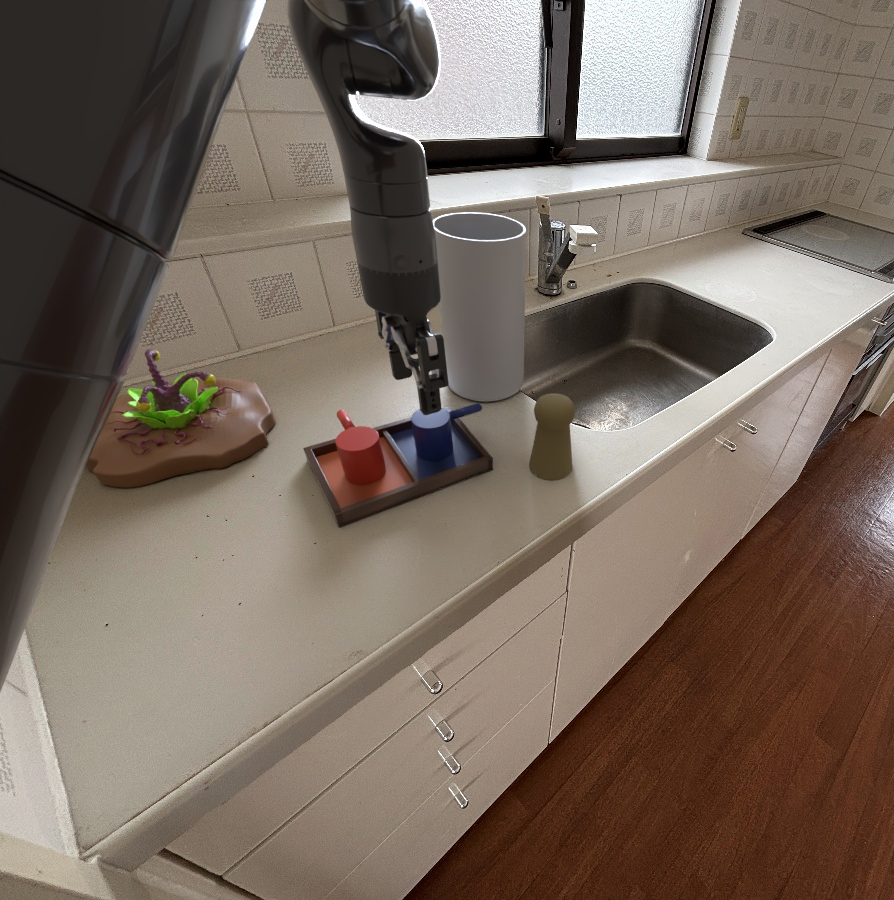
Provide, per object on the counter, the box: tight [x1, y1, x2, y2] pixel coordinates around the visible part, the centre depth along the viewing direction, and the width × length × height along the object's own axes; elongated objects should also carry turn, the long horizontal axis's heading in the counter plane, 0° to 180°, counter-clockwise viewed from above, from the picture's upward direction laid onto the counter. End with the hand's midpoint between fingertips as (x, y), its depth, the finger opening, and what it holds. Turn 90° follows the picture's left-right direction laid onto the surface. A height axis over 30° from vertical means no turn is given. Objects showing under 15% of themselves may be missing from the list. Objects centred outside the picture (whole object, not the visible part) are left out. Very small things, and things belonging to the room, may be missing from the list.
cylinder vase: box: [432, 211, 527, 402], centre depth 75 cm, size 12×12×25 cm
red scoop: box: [335, 409, 386, 485], centre depth 62 cm, size 10×5×6 cm, turn 37°
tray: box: [303, 406, 494, 528], centre depth 65 cm, size 20×14×2 cm
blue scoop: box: [410, 402, 483, 461], centre depth 67 cm, size 10×5×6 cm, turn 127°
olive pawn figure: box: [528, 392, 576, 481], centre depth 65 cm, size 6×6×11 cm
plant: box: [85, 348, 276, 489], centre depth 62 cm, size 20×20×11 cm
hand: (416, 393), depth 59 cm, fingers open, 8 cm apart
